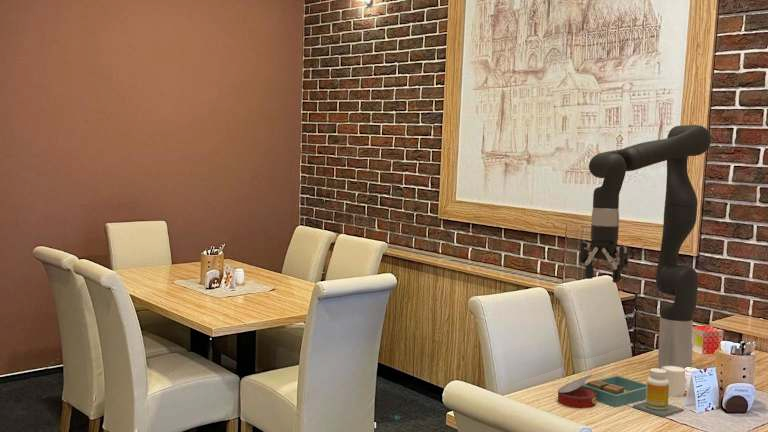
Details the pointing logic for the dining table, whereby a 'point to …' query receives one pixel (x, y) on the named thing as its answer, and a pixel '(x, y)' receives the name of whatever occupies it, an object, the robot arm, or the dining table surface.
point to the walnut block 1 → (597, 384)
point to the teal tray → (634, 394)
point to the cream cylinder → (675, 380)
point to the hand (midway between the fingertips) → (602, 280)
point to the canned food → (577, 394)
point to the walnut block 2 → (613, 389)
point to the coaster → (661, 413)
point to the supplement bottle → (657, 390)
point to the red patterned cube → (706, 339)
